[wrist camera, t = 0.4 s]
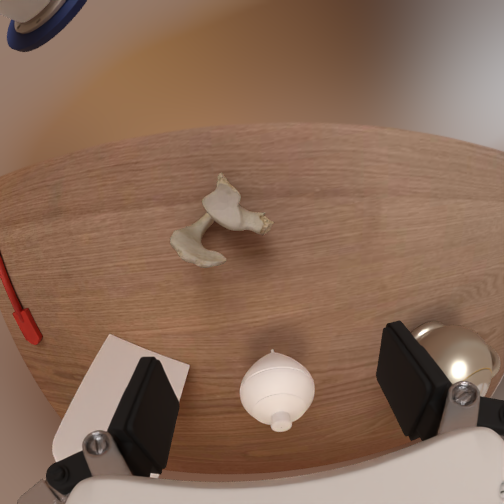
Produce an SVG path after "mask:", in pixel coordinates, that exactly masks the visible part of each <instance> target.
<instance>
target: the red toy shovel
mask: <svg viewBox="0 0 504 504" xmlns="http://www.w3.org/2000/svg"><path fill="white" fill-rule="evenodd" d="M0 278H1V280H2V283H3V285H4V287H5V290H6V292H7V295H8V297H9V299H10V301H11V304H12V306H13V308H14V310H15V312H13V313H12V314H13V316H14V318H15V320H16V322H17V324H18V326H19V328H20V329H21V331H22V333H23V335H24V337H25V339H26V340H28V341H29V342H30V343H31V344H34V345H37V344H38V343H39V342H40V341H41V338H42V337H43V336H42V334H41V332H40V331H39V329H38V327H37V325H36V323H35V321H34V319H33V317H32V315H31V313H30V311H29V309H28V308H27V309H22V307H21V305H20V303H19V301H18V299H17V297H16V294H15V292H14V290H13V287H12V285H11V282H10V280H9V277H8V275H7V272H6V270H5V267H4V264H3V261H2V258H1V255H0Z"/></svg>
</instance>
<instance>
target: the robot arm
mask: <svg viewBox="0 0 504 504" xmlns="http://www.w3.org/2000/svg"><path fill="white" fill-rule="evenodd" d="M65 1H66V0H0V15H3V16H5V17H8V18H10V19H13V20H15V30H16V31H17V32H19V33H22V34H27V33H30V32H32V31H34V30H36V29H38V28H39V27H40V26H42V25H43V24H44V23H46V22H47V21H48V20H49V19H50V18H51V17H52V16H53V15H54V14H55V13H56V12H57V11H58V10H59V9H60V8H61V6H62V5H63V4H64V3H65ZM376 377H377V381H378V383H379V385H380V386H381V388H382V390H383V392H384V394H385V396H386V398H387V400H388V402H389V404H390V406H391V408H392V410H393V412H394V414H395V416H396V419H397V421H398V423H399V425H400V427H401V429H402V431H403V433H404V435H405V436H409V438H410V440H411V441H412V440H415V439H417V438H421V440H422V442H419V443H417V444H414V445H412V446H409V447H407V448H404V449H401V450H398V451H396V452H393V453H389V454H387V455H384V456H381V457H378V458H374V459H371V460H368V461H364V462H361V463H358V464H353V465H350V466H346V467H341V468H337V469H333V470H328V471H323V472H318V473H313V474H307V475H301V476H295V477H287V478H279V479H270V480H258V481H239V482H201V481H183V480H170V479H159V478H151V477H150V475H151V473H154V474H161V473H162V469H164V468H166V465H167V460H168V456H169V451H170V447H171V442H172V438H173V433H174V429H175V424H176V420H177V416H178V411H179V401H178V398H177V396H176V394H175V392H174V390H173V388H172V386H171V384H170V382H169V380H168V377H167V375H166V373H165V371H164V368H163V366H162V364H161V362H160V360H157V359H156V358H155V357H153V356H152V357H141V358H140V360H139V362H138V364H137V366H136V368H135V371H134V373H133V375H132V377H131V379H130V381H129V383H128V386H127V387H126V389H125V391H124V393H123V395H122V397H121V400H120V402H119V404H118V406H117V409H116V411H115V413H114V415H113V418H112V420H111V422H110V425H109V427H108V429H107V432H106V431H103V430H96V431H93V432H91V433H89V434H88V435H87V436H86V437H85V438H84V440H83V443H82V451H80V452H77V453H75V454H73V455H71V456H69V457H67V458H65V459H63V460H60V461H58V462H56V463H54V464H52V465H51V466H50V467H49V468H48V470H47V473H46V480H43V479H41V480H40V481H39V482H38V483H37V484H35V485H34V486H33V487H32V488H30V489H29V490H28V491H27V492H25V493H24V494H23V495H22V496H21V497H20V498H19V499H18V501H17V504H504V401H503V400H497V399H492V398H487V397H482V396H480V391H479V389H478V387H477V386H476V385H475V384H473V383H471V382H468V381H459V382H456V383H454V384H452V383H451V382H450V380H449V379H448V378H447V376H446V375H445V374H444V372H443V371H442V370H441V368H440V367H439V366H438V364H437V363H436V362H435V361H434V359H433V358H432V357H431V355H430V354H429V353H428V352H427V350H426V349H425V348H424V347H423V346H422V345H420V344H419V342H418V341H417V340H416V339H415V337H414V336H413V335H412V334H411V333H410V331H409V330H408V329H407V328H406V327H405V325H404V324H403V323H402V322H401V321H396V322H392V323H388V324H387V325H386V328H384V329H383V333H382V340H381V347H380V354H379V361H378V367H377V372H376Z"/></svg>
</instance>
